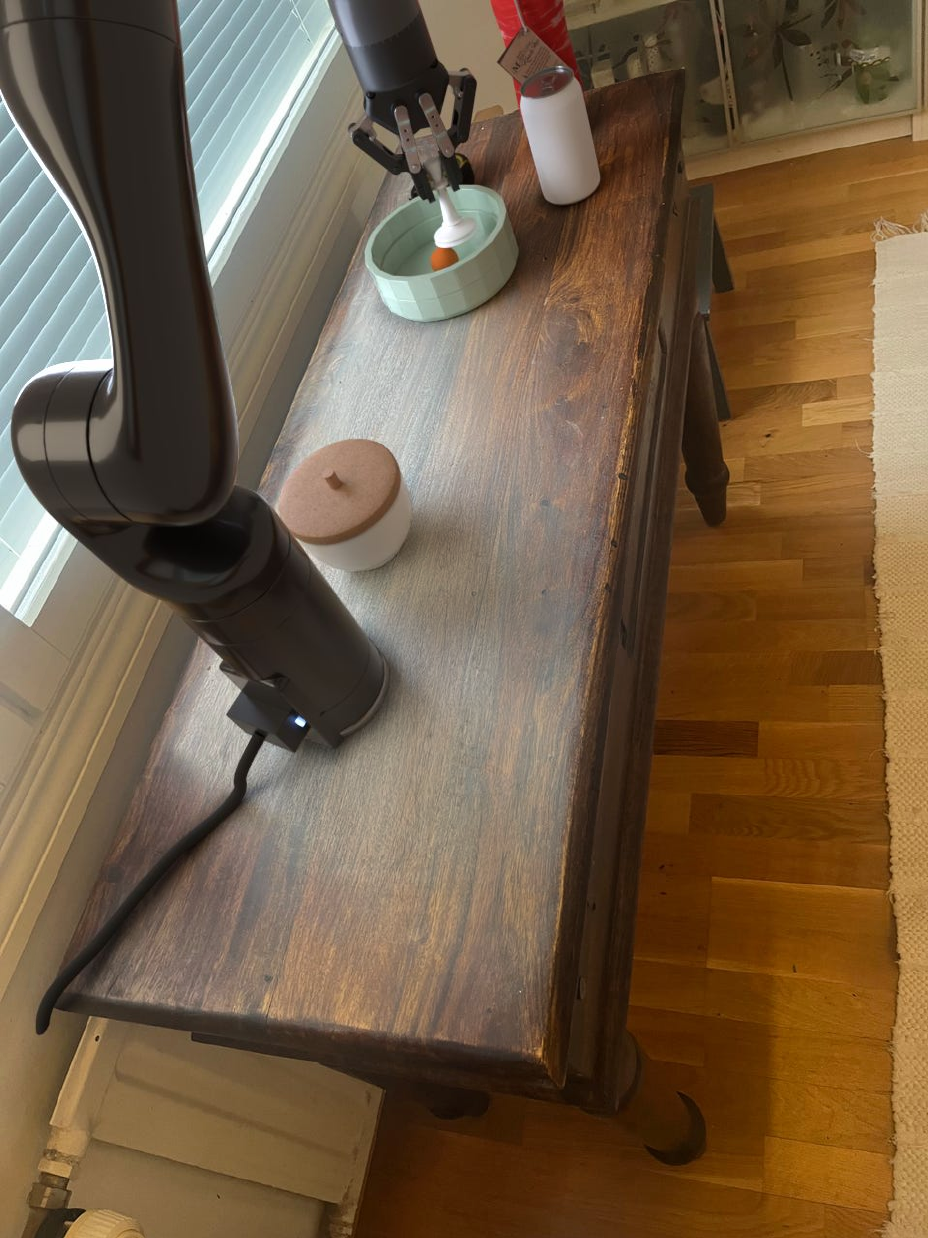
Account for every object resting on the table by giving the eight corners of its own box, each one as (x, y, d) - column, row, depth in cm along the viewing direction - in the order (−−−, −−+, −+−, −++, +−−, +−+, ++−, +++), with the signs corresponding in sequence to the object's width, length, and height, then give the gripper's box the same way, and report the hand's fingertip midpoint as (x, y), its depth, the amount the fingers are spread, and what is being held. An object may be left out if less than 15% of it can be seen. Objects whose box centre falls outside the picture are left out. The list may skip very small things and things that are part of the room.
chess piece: (431, 236, 101) (397, 144, 94) (472, 218, 101) (442, 124, 94) (441, 253, 97) (406, 158, 91) (484, 233, 97) (453, 137, 90)
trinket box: (295, 559, 84) (244, 492, 77) (376, 480, 87) (335, 407, 79) (367, 612, 78) (319, 545, 71) (453, 525, 81) (415, 451, 73)
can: (601, 165, 104) (578, 55, 94) (600, 199, 100) (577, 89, 91) (545, 178, 106) (517, 73, 96) (542, 212, 102) (513, 106, 93)
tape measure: (436, 181, 113) (425, 152, 110) (486, 176, 110) (476, 146, 107) (415, 216, 110) (404, 188, 107) (466, 213, 107) (456, 183, 104)
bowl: (479, 329, 94) (462, 285, 90) (359, 318, 102) (338, 276, 98) (543, 230, 100) (530, 184, 96) (425, 226, 108) (409, 183, 104)
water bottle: (582, 165, 105) (526, -87, 85) (515, 176, 108) (446, -64, 88) (599, 105, 111) (550, -143, 91) (535, 117, 114) (474, -121, 94)
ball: (434, 282, 99) (420, 256, 99) (447, 279, 102) (434, 254, 101) (455, 268, 98) (441, 241, 97) (468, 265, 100) (455, 239, 99)
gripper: (316, 69, 81) (390, 240, 94) (461, -4, 79) (515, 179, 93) (302, 38, 85) (375, 205, 99) (439, -32, 84) (494, 147, 98)
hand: (443, 192), depth 96 cm, fingers closed on chess piece
